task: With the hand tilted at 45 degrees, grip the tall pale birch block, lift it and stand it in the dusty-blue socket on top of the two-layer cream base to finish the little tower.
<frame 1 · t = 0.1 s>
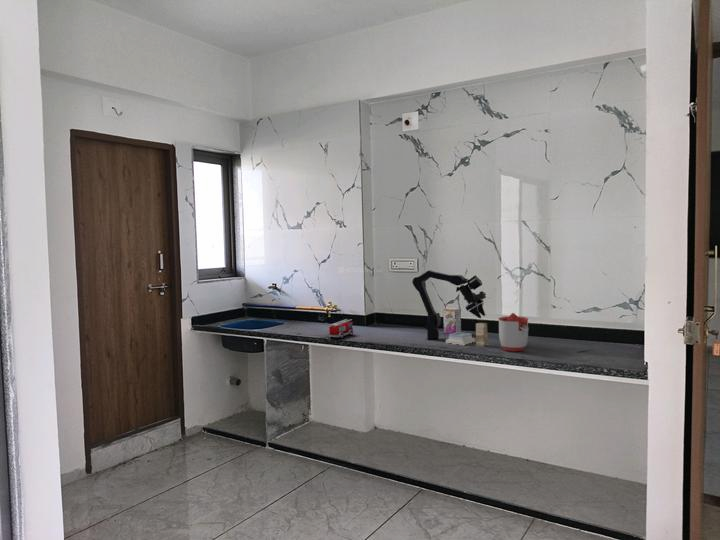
hand: (482, 316, 320), 15 cm above the counter, tool tilted 35°, fingers open, 9 cm apart
birch block: (481, 345, 312), on the counter
toy fire truck: (341, 337, 352), on the counter
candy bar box: (452, 334, 348), on the counter
tower base: (460, 342, 321), on the counter
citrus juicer: (514, 350, 297), on the counter
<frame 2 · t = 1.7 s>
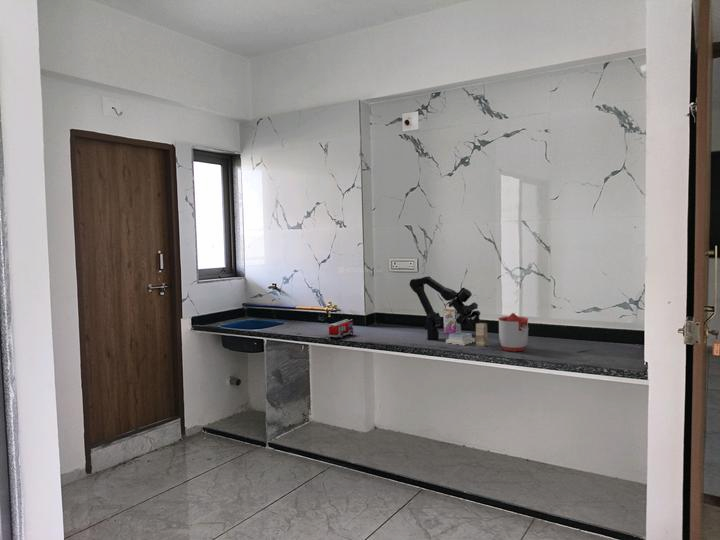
hand: (477, 328, 313), 10 cm above the counter, tool tilted 45°, fingers open, 9 cm apart
nothing on the counter moved.
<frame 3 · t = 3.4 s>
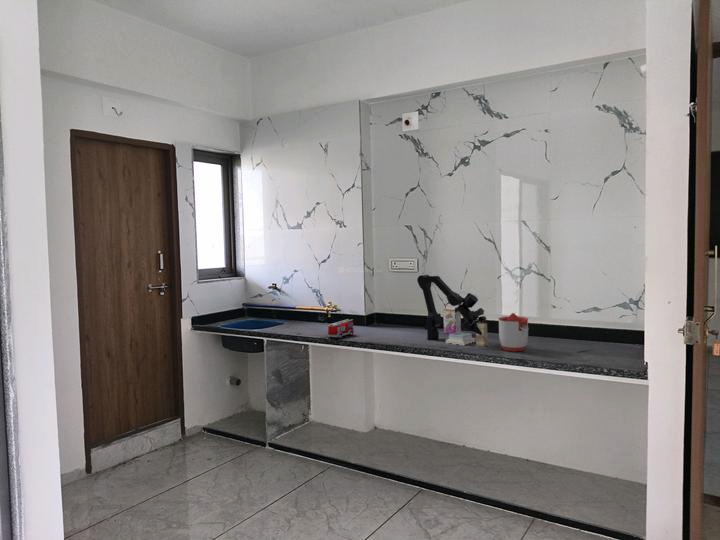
hand: (483, 334, 310), 7 cm above the counter, tool tilted 45°, fingers closed on birch block, 4 cm apart
birch block: (481, 345, 312), on the counter, touching gripper
everything else where it was.
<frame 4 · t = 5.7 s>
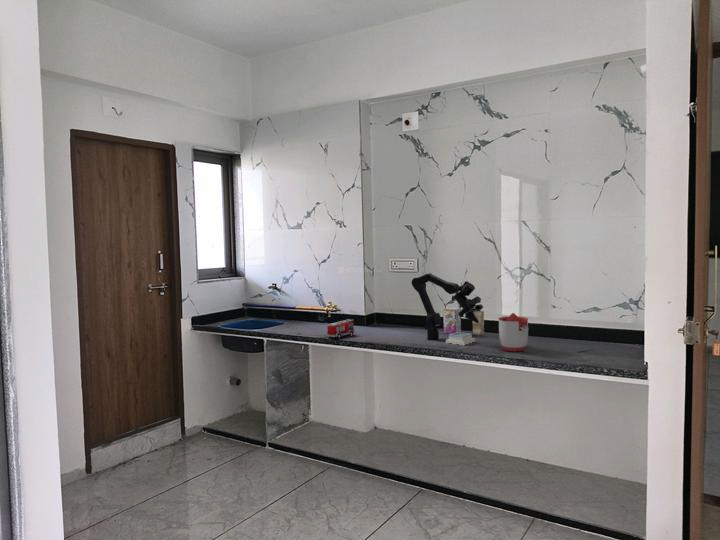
hand: (480, 322, 311), 13 cm above the counter, tool tilted 45°, fingers closed on birch block, 4 cm apart
birch block: (478, 333, 313), point 7 cm above the counter, touching gripper
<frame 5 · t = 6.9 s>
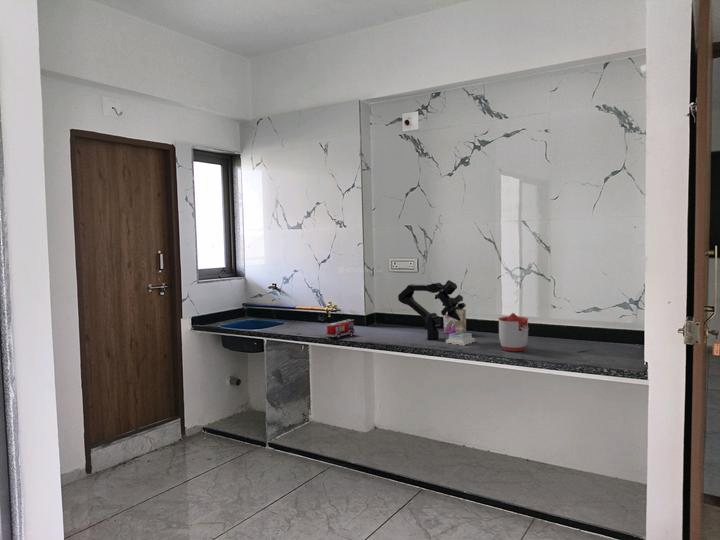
hand: (462, 320, 319), 13 cm above the counter, tool tilted 45°, fingers closed on birch block, 4 cm apart
birch block: (460, 331, 321), point 7 cm above the counter, touching gripper
when the fingers open (12 cm above the counter, at t = 8.1 s): birch block drops 1 cm, resting on tower base.
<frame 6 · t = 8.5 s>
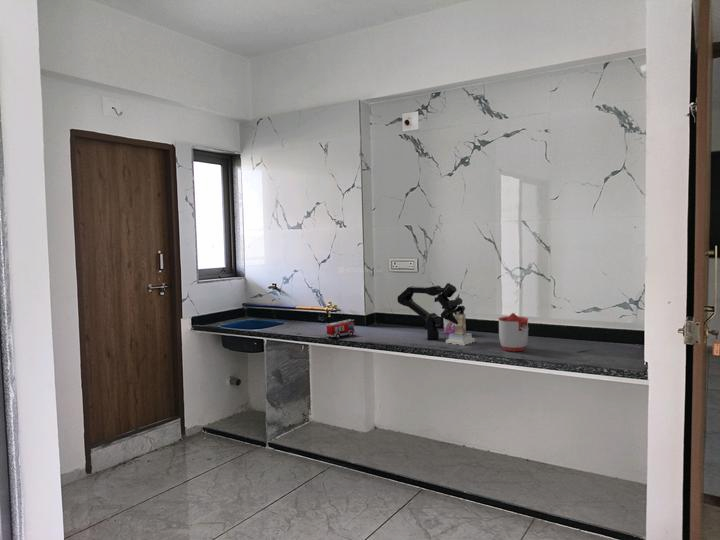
hand: (461, 322, 320), 12 cm above the counter, tool tilted 45°, fingers open, 9 cm apart
birch block: (460, 335, 321), point 4 cm above the counter, touching tower base
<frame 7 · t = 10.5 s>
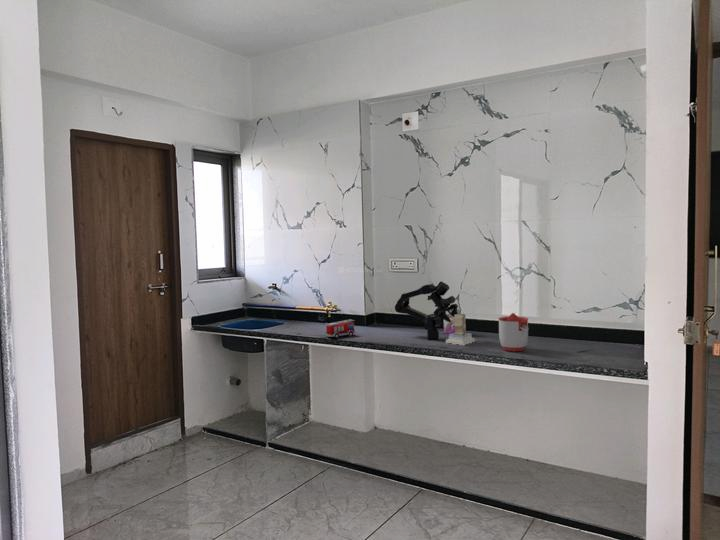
hand: (454, 320, 323), 13 cm above the counter, tool tilted 45°, fingers open, 9 cm apart
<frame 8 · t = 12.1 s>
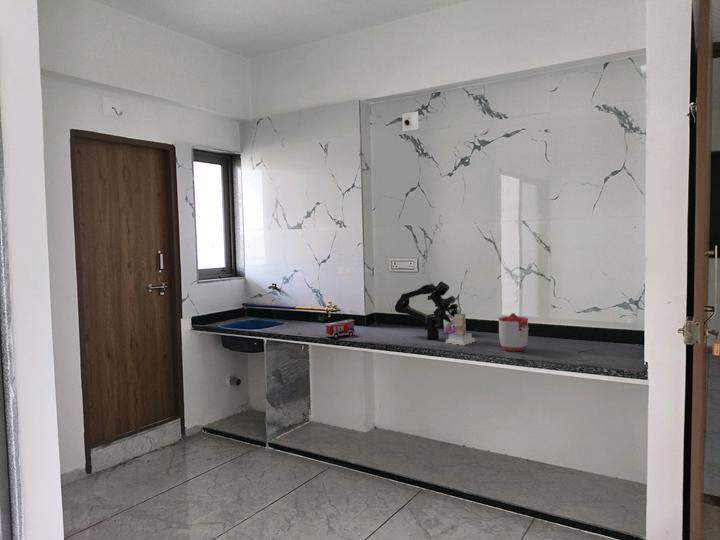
hand: (454, 320, 323), 13 cm above the counter, tool tilted 45°, fingers open, 9 cm apart
at the end: birch block 0.1 cm off-centre on the tower base, point 4.0 cm above the tower base's base; birch block tilted 0°; the gripper is holding nothing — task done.
